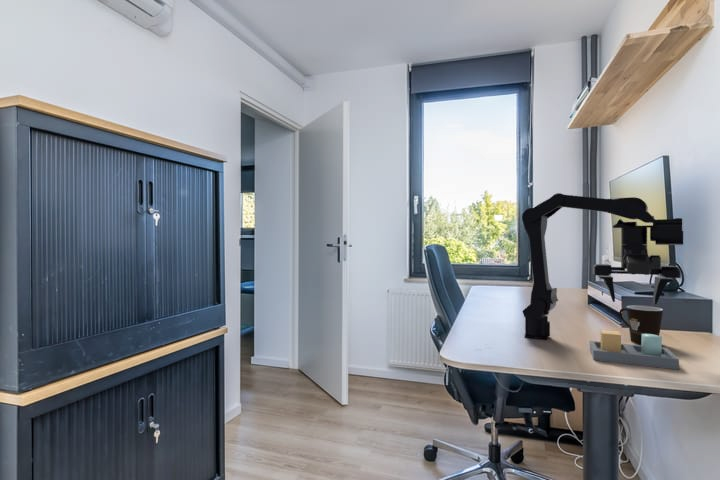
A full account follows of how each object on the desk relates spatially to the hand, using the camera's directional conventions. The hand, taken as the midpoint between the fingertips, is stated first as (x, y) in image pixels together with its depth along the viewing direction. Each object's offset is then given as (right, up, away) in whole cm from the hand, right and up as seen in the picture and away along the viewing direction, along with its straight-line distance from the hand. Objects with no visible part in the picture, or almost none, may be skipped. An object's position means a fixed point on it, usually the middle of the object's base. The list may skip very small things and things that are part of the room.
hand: (634, 302), depth 104 cm
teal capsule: (-1, -12, -8) cm, 14 cm away
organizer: (-5, -13, -6) cm, 15 cm away
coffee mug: (+9, -13, +10) cm, 19 cm away
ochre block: (-9, -12, -4) cm, 16 cm away
